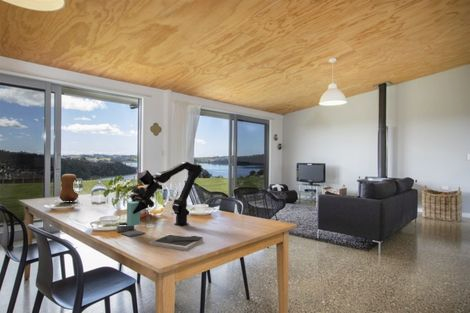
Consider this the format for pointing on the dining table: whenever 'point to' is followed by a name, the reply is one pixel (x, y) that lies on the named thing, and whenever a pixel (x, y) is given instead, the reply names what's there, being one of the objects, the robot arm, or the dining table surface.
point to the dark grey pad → (133, 233)
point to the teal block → (132, 218)
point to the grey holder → (124, 227)
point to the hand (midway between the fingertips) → (131, 212)
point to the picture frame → (177, 241)
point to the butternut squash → (68, 188)
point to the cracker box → (144, 211)
